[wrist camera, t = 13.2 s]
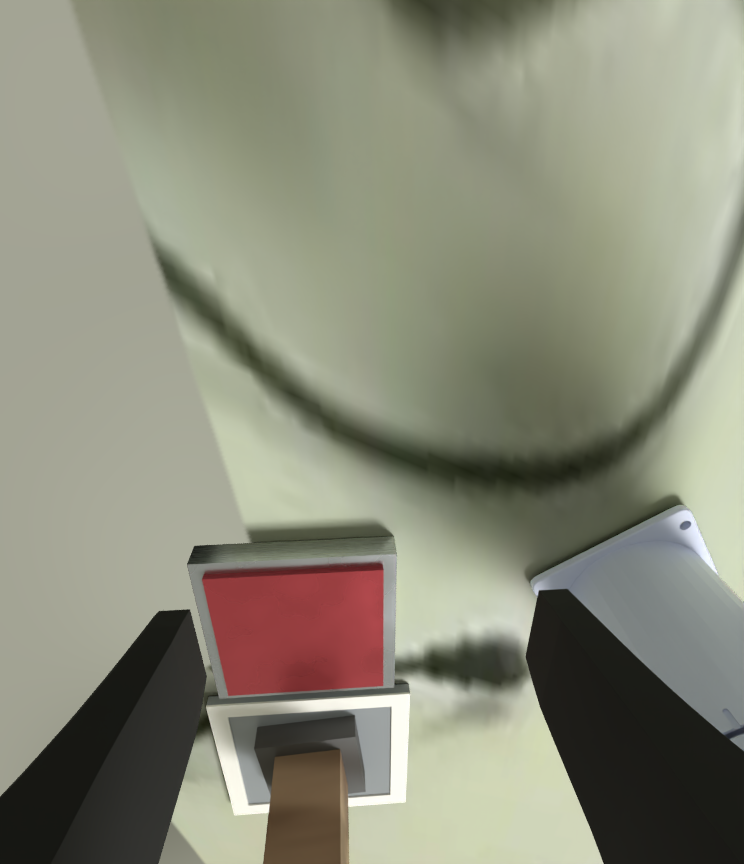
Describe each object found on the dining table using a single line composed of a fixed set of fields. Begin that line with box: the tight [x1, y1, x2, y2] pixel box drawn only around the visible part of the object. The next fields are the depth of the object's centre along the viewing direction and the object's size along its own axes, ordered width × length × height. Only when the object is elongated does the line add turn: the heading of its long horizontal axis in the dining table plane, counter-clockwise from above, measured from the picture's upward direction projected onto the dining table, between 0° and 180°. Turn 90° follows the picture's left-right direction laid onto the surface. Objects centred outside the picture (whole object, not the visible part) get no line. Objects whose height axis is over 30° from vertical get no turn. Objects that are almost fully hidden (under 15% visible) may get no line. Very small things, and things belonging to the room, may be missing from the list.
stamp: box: [254, 715, 366, 864], centre depth 26 cm, size 6×6×6 cm
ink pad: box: [187, 536, 397, 699], centre depth 23 cm, size 9×9×2 cm
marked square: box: [206, 684, 410, 815], centre depth 29 cm, size 11×11×1 cm
